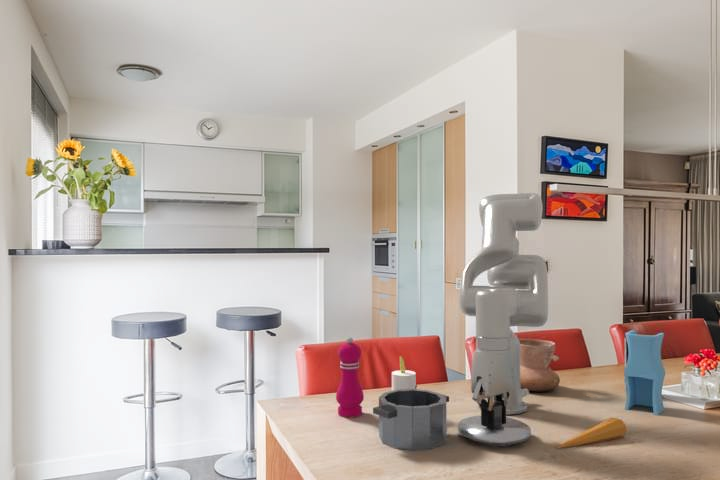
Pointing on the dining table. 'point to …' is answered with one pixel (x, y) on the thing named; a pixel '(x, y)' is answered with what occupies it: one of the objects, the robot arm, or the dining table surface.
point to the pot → (412, 419)
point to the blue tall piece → (644, 371)
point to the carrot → (598, 433)
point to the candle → (403, 378)
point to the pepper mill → (349, 381)
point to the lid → (495, 429)
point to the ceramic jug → (537, 365)
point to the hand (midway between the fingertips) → (493, 423)
